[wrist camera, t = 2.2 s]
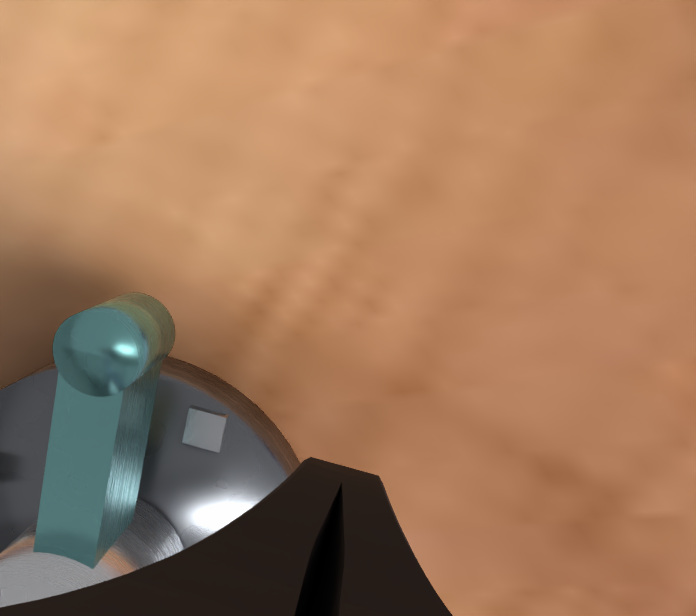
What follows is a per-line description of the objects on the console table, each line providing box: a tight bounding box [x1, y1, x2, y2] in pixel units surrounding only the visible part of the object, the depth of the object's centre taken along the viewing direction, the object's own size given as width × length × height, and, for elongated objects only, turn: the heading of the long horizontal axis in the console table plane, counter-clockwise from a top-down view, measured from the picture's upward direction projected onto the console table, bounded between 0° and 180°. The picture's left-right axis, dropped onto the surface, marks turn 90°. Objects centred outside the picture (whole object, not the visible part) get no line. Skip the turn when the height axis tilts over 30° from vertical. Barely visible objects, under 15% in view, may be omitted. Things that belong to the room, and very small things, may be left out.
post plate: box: [0, 356, 300, 553], centre depth 16 cm, size 11×11×4 cm
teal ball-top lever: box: [0, 292, 184, 607], centre depth 14 cm, size 10×4×4 cm, turn 166°
